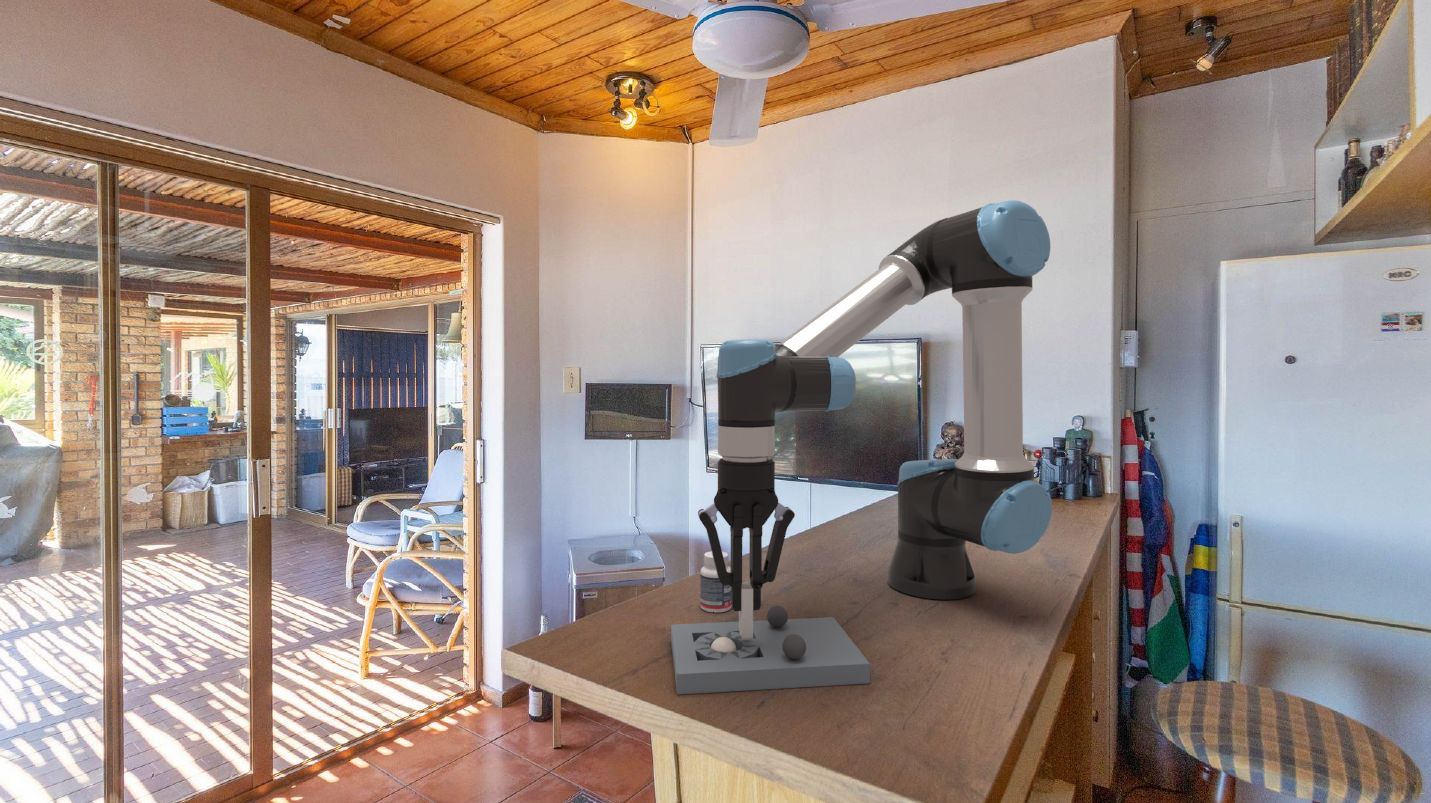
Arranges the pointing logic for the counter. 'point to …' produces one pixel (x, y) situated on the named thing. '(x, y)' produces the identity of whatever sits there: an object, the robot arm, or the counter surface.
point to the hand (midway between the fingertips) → (745, 633)
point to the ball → (723, 645)
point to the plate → (765, 657)
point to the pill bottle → (714, 586)
